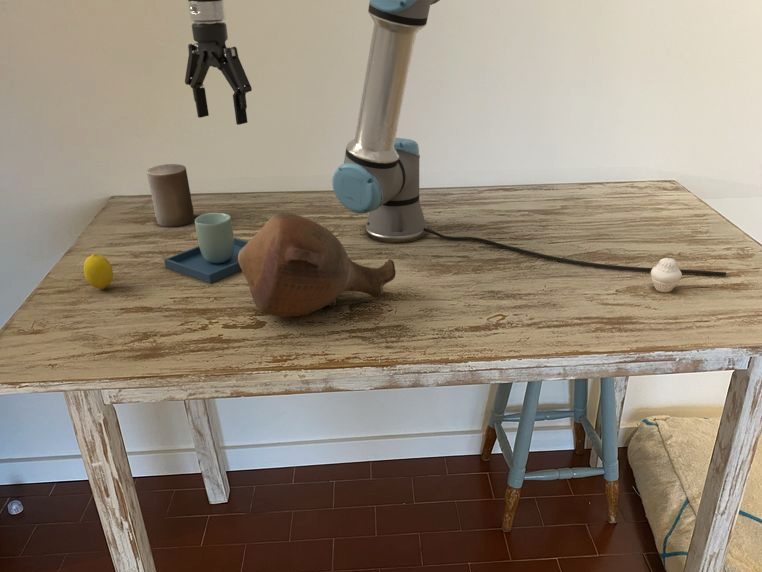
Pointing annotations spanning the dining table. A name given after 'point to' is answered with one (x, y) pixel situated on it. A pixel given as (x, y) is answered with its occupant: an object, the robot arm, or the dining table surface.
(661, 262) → the muffin
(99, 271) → the lemon
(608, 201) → the dining table surface
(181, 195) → the pillar candle
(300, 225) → the jug
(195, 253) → the tray
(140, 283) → the dining table surface
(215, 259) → the cup
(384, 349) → the dining table surface
